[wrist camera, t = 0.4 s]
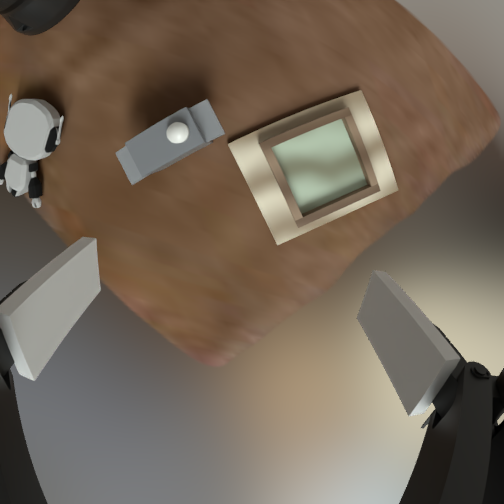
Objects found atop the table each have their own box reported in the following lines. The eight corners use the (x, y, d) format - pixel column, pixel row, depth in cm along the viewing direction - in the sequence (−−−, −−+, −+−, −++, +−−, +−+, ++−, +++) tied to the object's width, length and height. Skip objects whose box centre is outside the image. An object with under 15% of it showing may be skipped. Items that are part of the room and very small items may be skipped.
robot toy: (52, 206, 36) (80, 111, 30) (34, 216, 32) (61, 112, 26) (5, 177, 33) (27, 90, 28) (-13, 184, 29) (8, 90, 24)
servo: (136, 150, 33) (105, 154, 25) (213, 106, 31) (203, 95, 23) (150, 177, 34) (122, 188, 26) (228, 135, 33) (222, 132, 24)
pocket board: (228, 144, 33) (226, 144, 31) (358, 90, 31) (365, 88, 28) (276, 243, 38) (278, 249, 36) (395, 189, 35) (404, 192, 33)
